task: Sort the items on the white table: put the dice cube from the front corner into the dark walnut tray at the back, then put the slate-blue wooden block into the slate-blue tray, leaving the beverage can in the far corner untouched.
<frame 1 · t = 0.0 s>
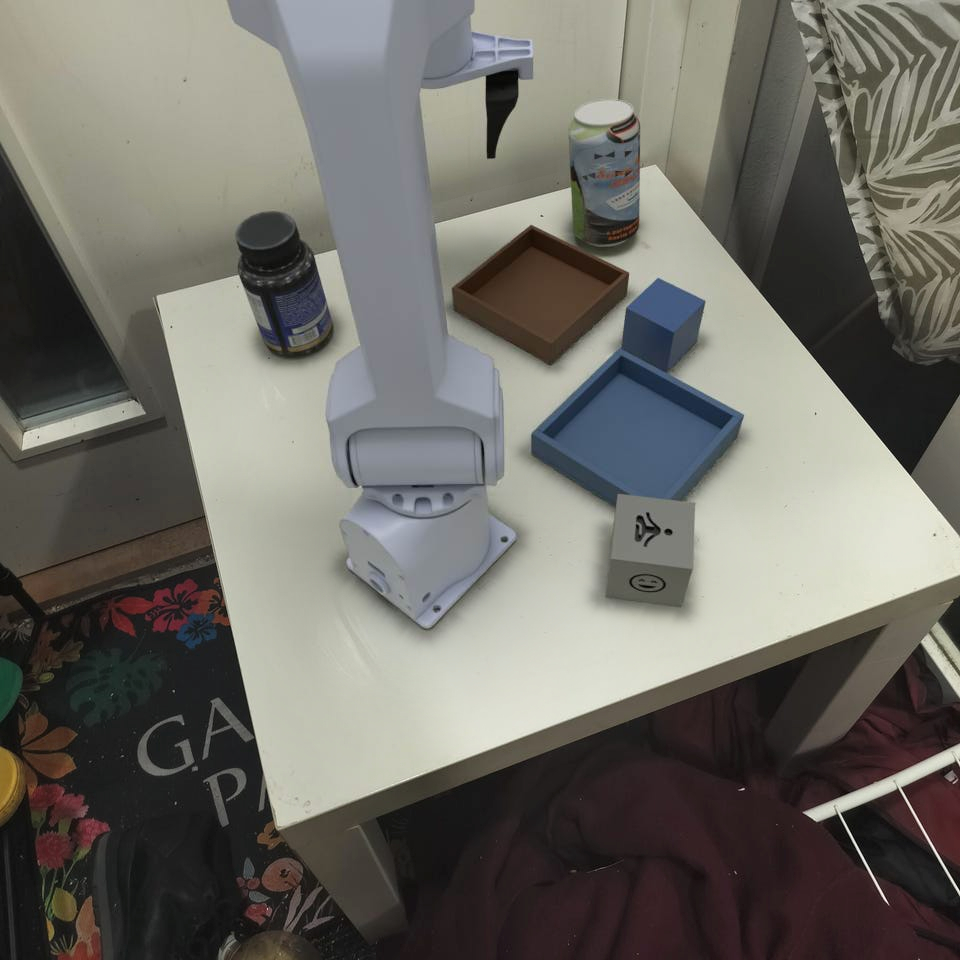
hand: (444, 151, 70), 11 cm above the table, tool pointing down, fingers open, 7 cm apart
beverage can: (600, 234, 79), on the table
dice cube: (645, 571, 58), on the table
walnut tray: (540, 302, 74), on the table
blue block: (658, 344, 70), on the table
pill bottle: (299, 336, 73), on the table
blue tray: (634, 445, 64), on the table
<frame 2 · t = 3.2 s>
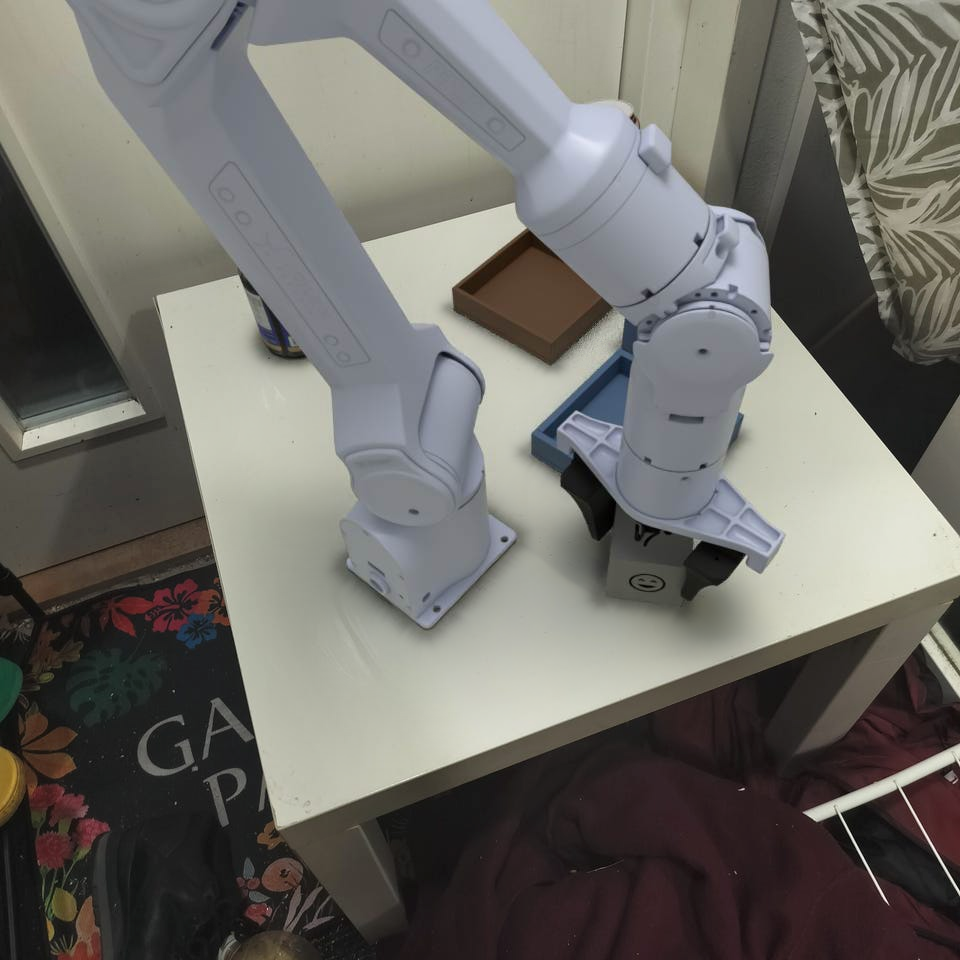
hand: (647, 559, 56), 1 cm above the table, tool pointing down, fingers closed on dice cube, 6 cm apart
dice cube: (644, 570, 58), on the table, touching gripper
everything else where it was.
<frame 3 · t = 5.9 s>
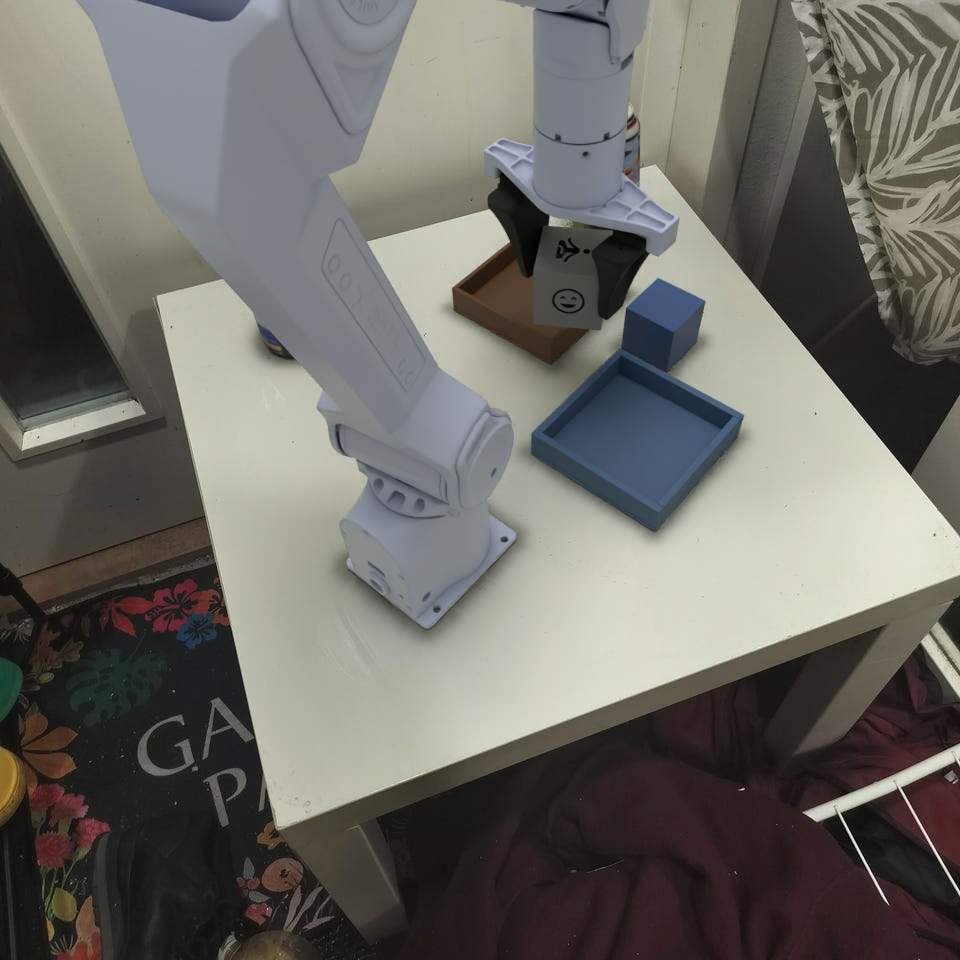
hand: (571, 290, 62), 8 cm above the table, tool pointing down, fingers closed on dice cube, 6 cm apart
dice cube: (571, 306, 63), point 7 cm above the table, touching gripper
everything else where it was.
when the fingers open (2 cm above the table, at t = 8.9 s): dice cube stays where it is, resting on walnut tray.
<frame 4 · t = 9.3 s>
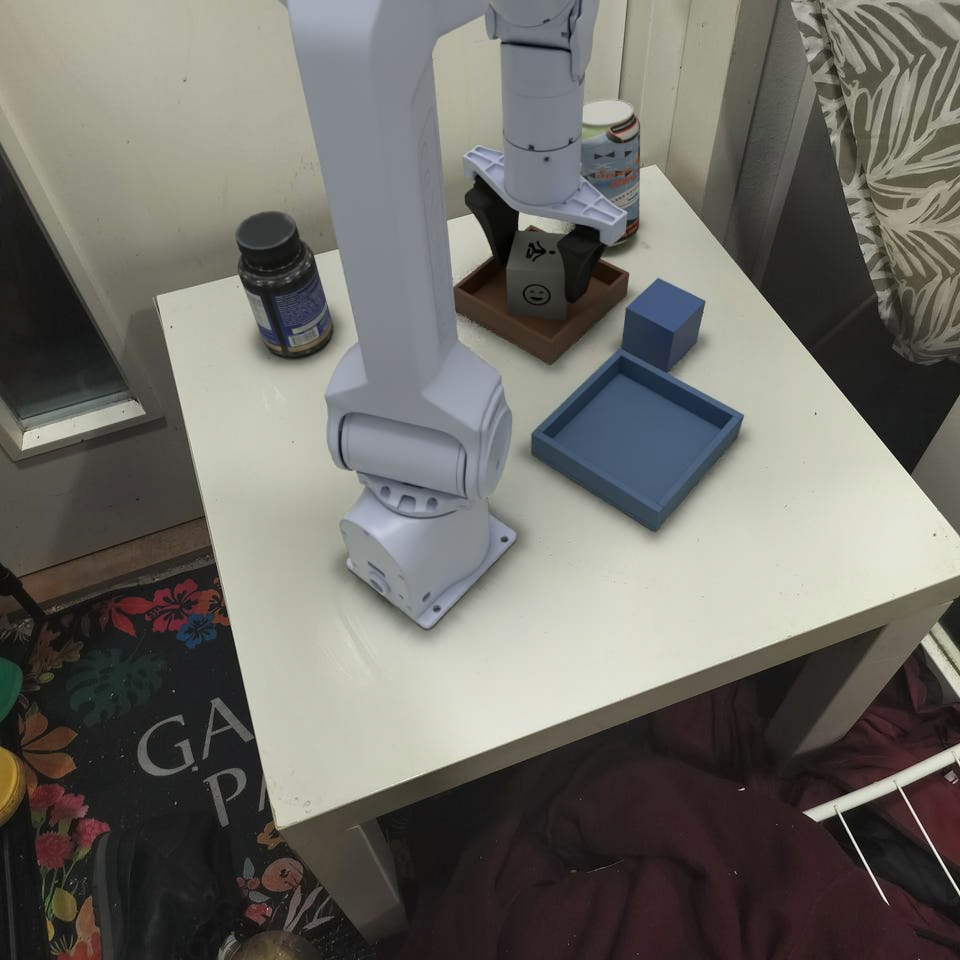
hand: (540, 277, 71), 3 cm above the table, tool pointing down, fingers open, 7 cm apart
dice cube: (540, 299, 73), resting on walnut tray
everything else where it was.
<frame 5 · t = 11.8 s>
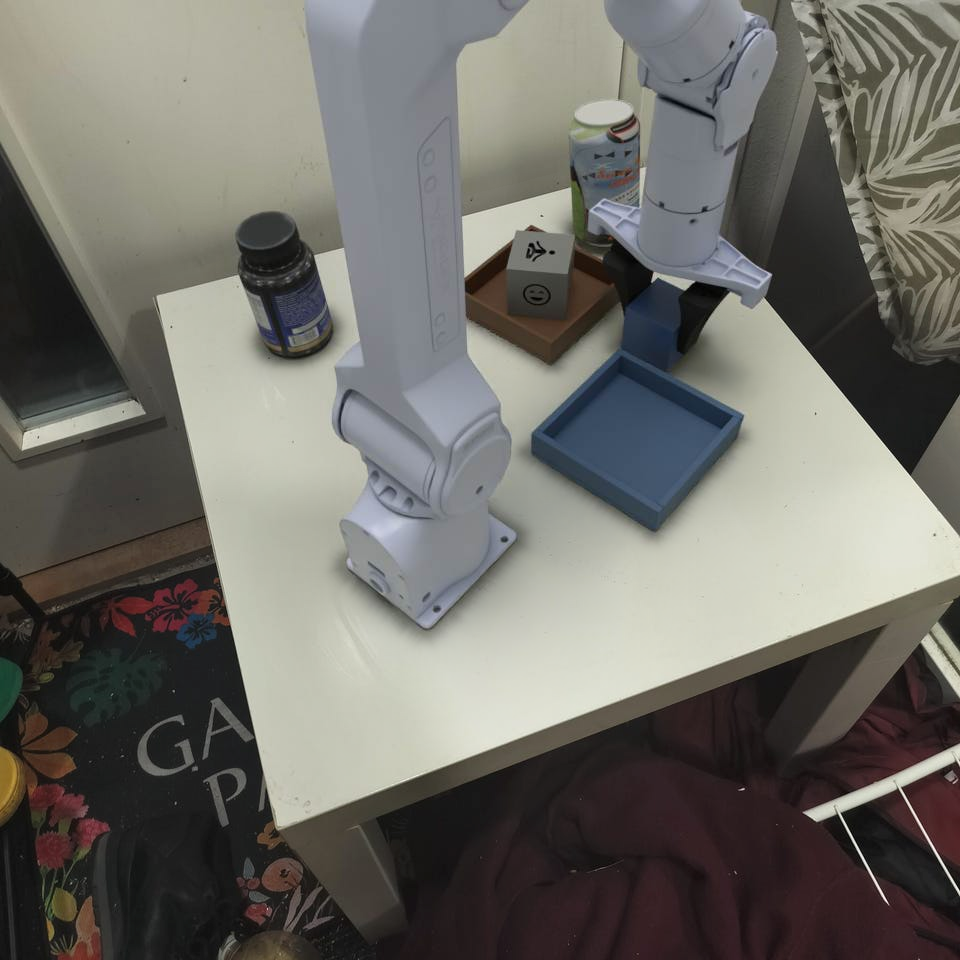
hand: (661, 332, 69), 1 cm above the table, tool pointing down, fingers closed on blue block, 4 cm apart
blue block: (658, 344, 70), on the table, touching gripper
everything else where it was.
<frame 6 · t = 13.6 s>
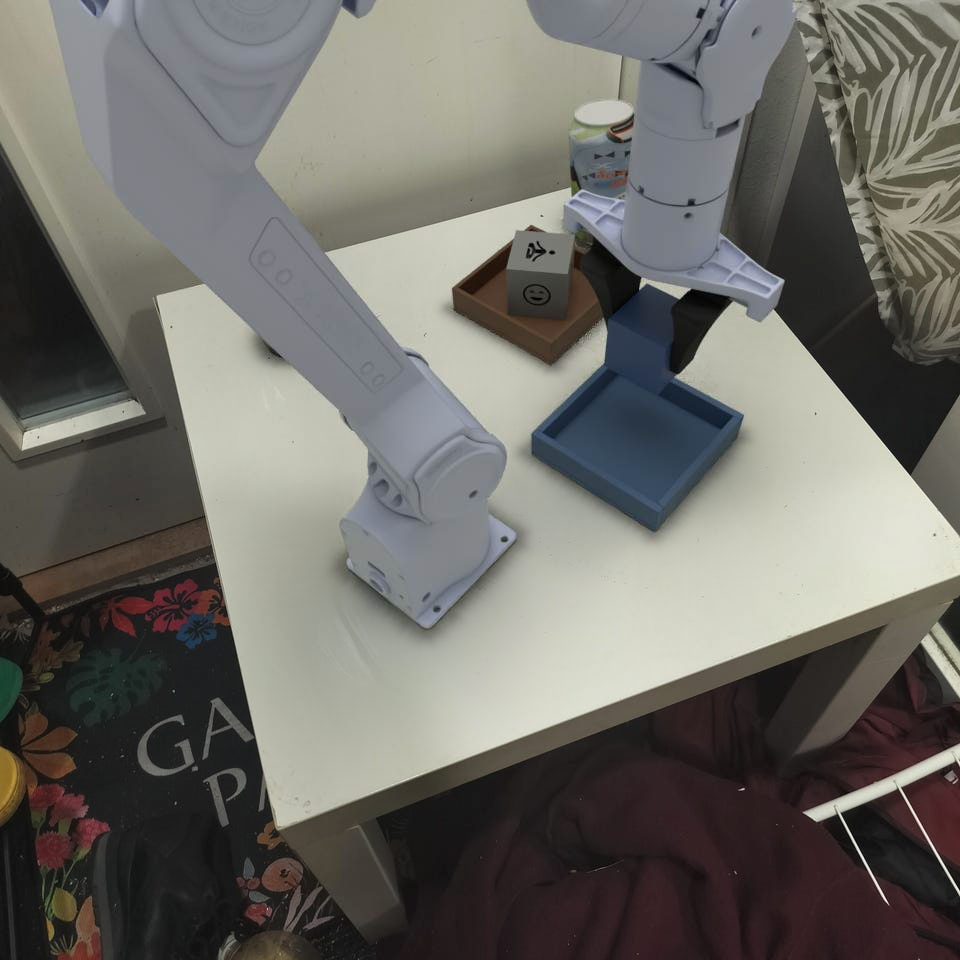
hand: (650, 348, 58), 8 cm above the table, tool pointing down, fingers closed on blue block, 4 cm apart
blue block: (648, 362, 59), point 7 cm above the table, touching gripper
everything else where it was.
when the fingers open (2 cm above the table, at t = 15.9 s): blue block stays where it is, resting on blue tray.
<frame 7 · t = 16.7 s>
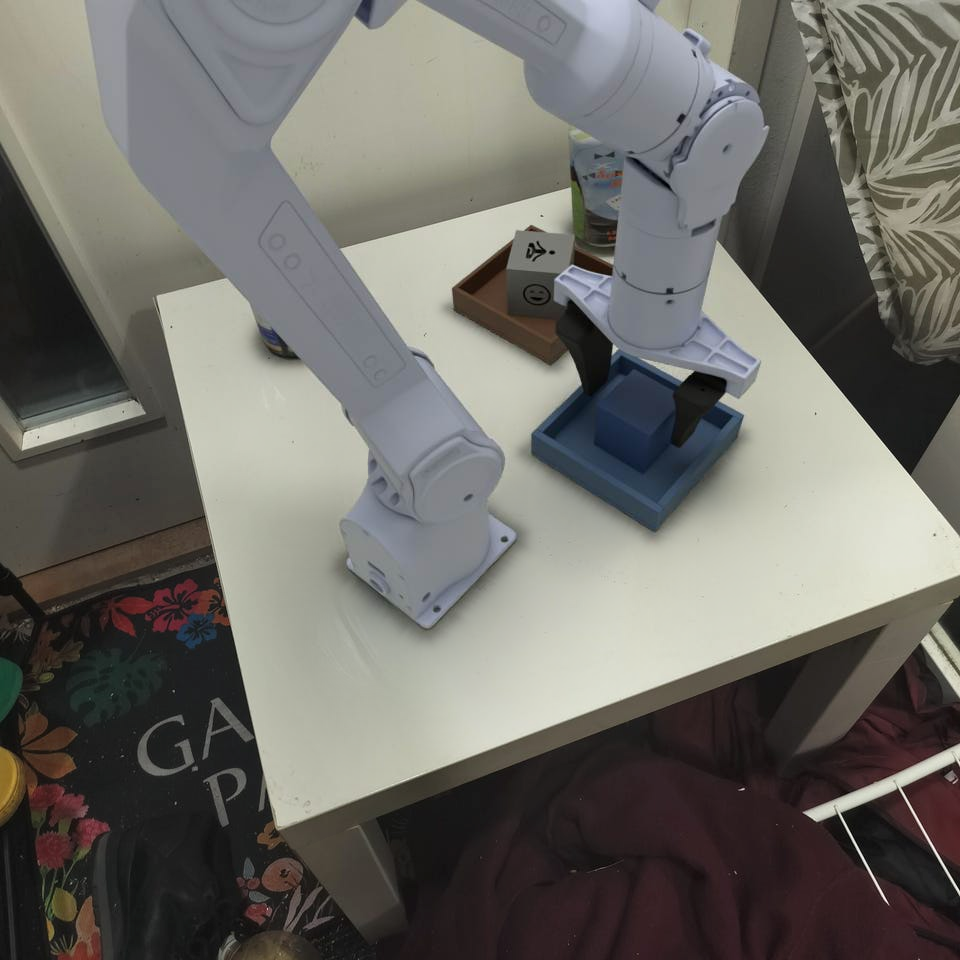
hand: (637, 411, 61), 4 cm above the table, tool pointing down, fingers open, 7 cm apart
blue block: (635, 440, 64), resting on blue tray
everything else where it was.
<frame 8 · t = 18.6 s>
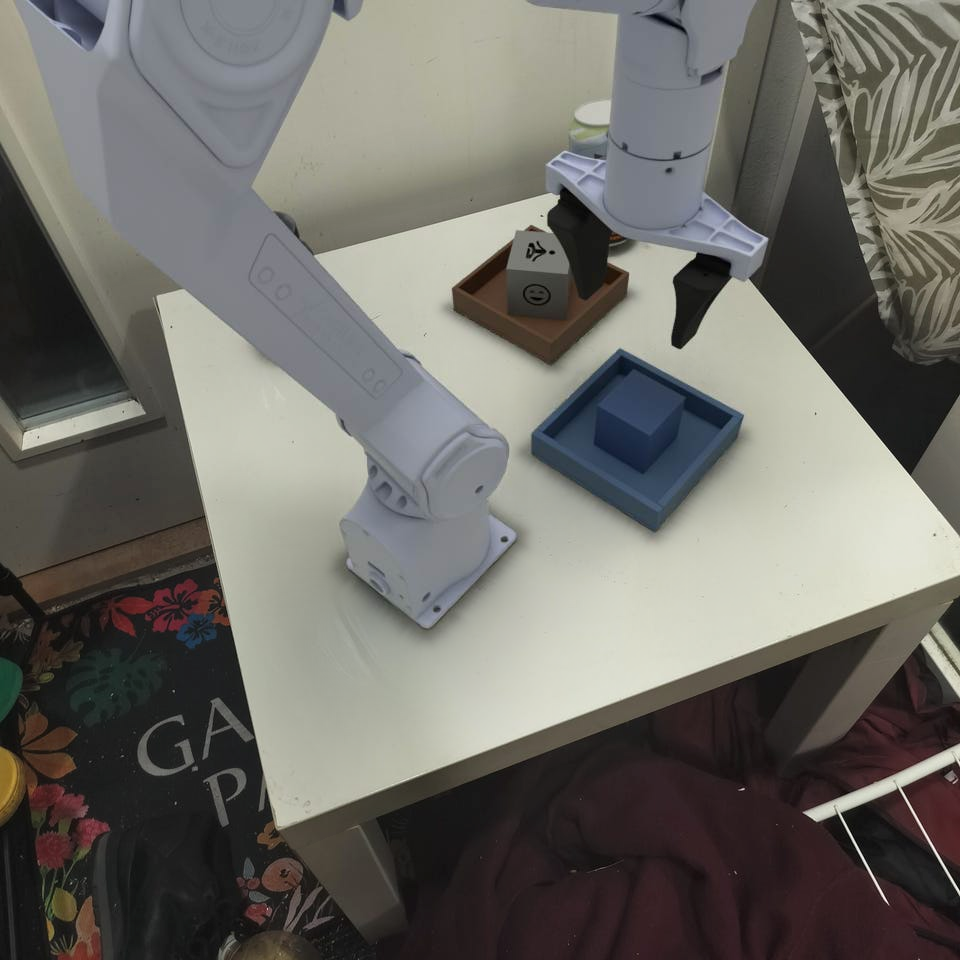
hand: (636, 314, 57), 10 cm above the table, tool pointing down, fingers open, 7 cm apart
nothing on the table moved.
at the end: dice cube inside the target area in the walnut tray (0.0 cm from its centre), point 0.3 cm above the walnut tray's base; blue block inside the target area in the blue tray (0.0 cm from its centre), point 0.5 cm above the blue tray's base; beverage can moved 0.2 cm from its start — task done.
